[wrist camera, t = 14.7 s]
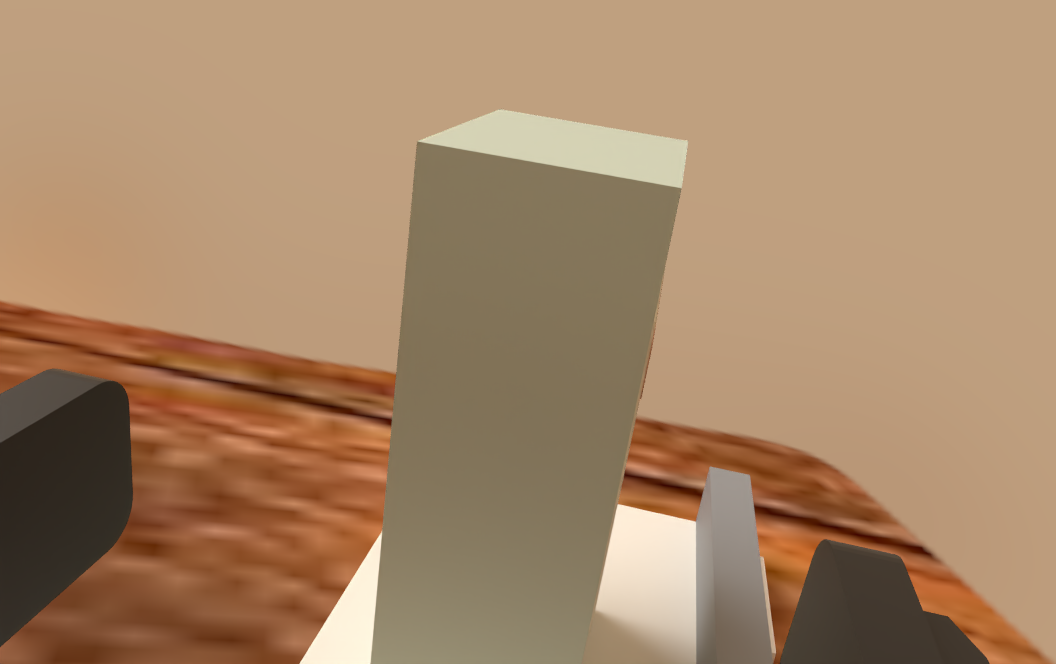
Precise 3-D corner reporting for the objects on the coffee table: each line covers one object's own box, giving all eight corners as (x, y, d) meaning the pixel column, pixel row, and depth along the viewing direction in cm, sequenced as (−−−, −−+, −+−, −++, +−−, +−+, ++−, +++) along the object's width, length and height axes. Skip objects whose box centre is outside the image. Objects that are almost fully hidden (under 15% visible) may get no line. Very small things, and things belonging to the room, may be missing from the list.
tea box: (364, 733, 17) (417, 141, 12) (442, 570, 22) (500, 109, 18) (559, 788, 16) (686, 189, 12) (593, 608, 21) (691, 141, 17)
